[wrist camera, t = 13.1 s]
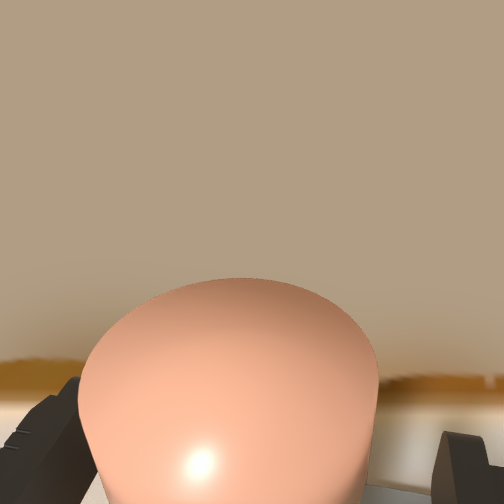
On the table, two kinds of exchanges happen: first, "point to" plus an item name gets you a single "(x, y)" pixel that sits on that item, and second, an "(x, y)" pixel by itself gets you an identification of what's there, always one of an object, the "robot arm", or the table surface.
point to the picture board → (392, 496)
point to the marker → (231, 398)
